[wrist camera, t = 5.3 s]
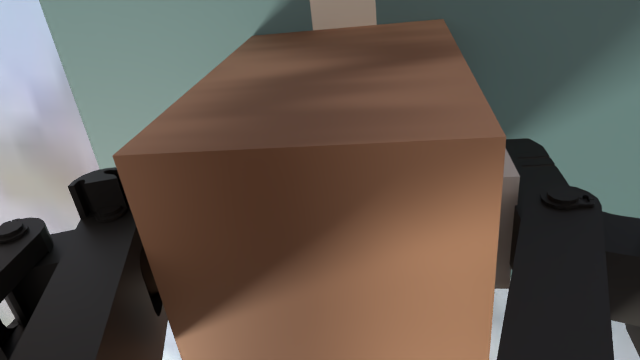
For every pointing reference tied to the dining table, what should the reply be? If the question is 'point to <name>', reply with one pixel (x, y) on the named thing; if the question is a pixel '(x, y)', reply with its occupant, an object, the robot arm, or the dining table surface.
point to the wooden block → (325, 200)
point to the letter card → (374, 9)
